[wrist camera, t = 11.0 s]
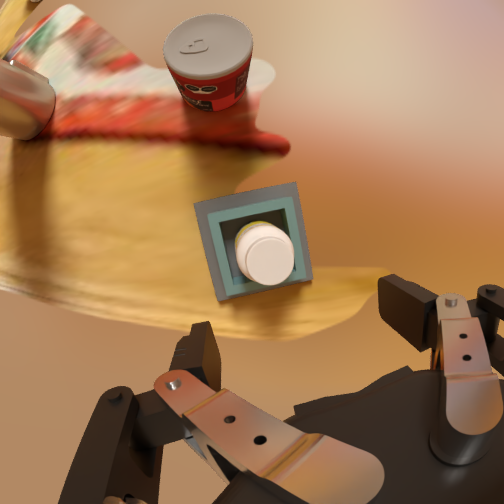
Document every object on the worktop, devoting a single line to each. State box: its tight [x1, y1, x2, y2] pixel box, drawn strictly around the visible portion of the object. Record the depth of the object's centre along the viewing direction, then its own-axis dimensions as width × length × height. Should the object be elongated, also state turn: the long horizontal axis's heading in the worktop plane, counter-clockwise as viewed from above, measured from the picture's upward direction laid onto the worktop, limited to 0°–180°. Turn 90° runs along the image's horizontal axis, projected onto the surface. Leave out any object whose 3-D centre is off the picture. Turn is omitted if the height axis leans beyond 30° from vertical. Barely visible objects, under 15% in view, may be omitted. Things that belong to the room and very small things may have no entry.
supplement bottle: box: [235, 220, 294, 285], centre depth 27 cm, size 5×5×10 cm
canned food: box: [163, 14, 253, 112], centre depth 23 cm, size 8×8×11 cm
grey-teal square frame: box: [194, 182, 313, 301], centre depth 31 cm, size 12×12×4 cm
